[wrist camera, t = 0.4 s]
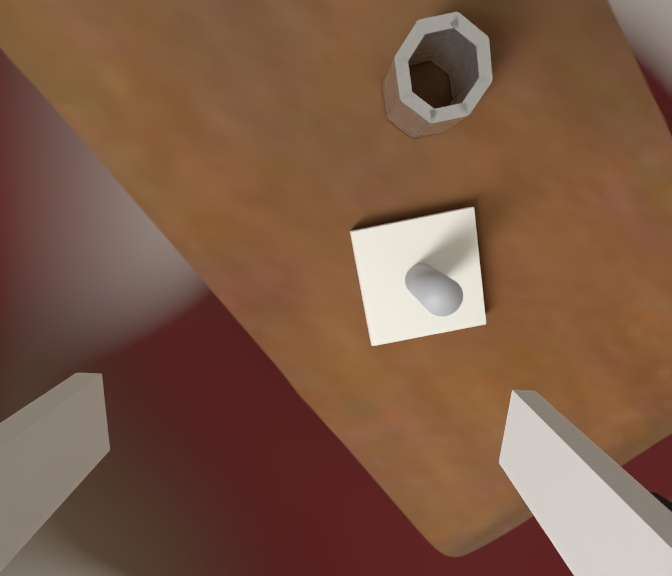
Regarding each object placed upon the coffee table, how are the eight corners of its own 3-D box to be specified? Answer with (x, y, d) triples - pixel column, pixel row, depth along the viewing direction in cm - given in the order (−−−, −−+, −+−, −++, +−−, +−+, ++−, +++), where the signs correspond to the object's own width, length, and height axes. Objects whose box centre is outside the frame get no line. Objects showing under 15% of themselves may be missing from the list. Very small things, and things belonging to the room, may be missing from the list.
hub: (378, 59, 32) (389, 26, 26) (456, 42, 31) (486, 5, 26) (391, 142, 33) (404, 129, 27) (465, 127, 33) (495, 110, 27)
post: (349, 231, 35) (356, 238, 27) (467, 207, 35) (511, 207, 26) (370, 340, 38) (382, 378, 29) (480, 319, 37) (523, 351, 29)
